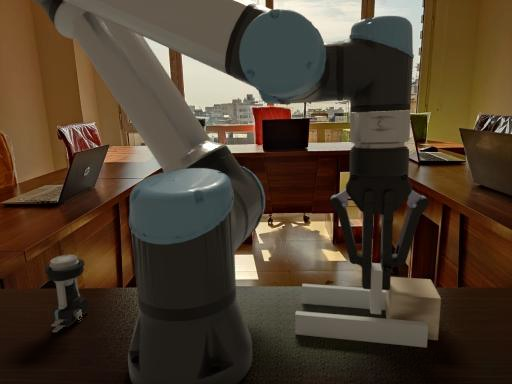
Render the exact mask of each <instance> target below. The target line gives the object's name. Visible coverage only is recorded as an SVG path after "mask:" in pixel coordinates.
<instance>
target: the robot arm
mask: <svg viewBox="0 0 512 384" xmlns="http://www.w3.org/2000/svg"><path fill="white" fill-rule="evenodd" d="M31 1H32V2H34V3H36V4H38V5H39V6H40V7H41V8H42V9H43V11H44V12H45V14H46V15H47V17H48V19H49V20H50V22H51V23H52V24H53V26H54V28H55V29H56V30H57V31H58V33H59V34H60V35H61V36H62V37H65V38H66V39H70V40H75V41H76V42H77V43H78V45H79V46H80V48H81V49H82V50H83V52H84V54H85V55H86V56H87V58H88V60H89V62H91V64H92V66H93V67H94V69H95V70H96V72H97V73H98V75H99V76H100V78H101V80H102V81H103V83H104V84H105V85H106V88H107V89H108V90H109V91H110V93H111V94H112V96H113V97H114V99H115V101H117V104H118V105H119V107H120V108H121V109H122V111H123V113H124V115H126V116H127V118H128V120H129V121H130V122H131V124H132V126H133V127H134V128H135V130H136V132H137V133H138V135H139V136H140V138H141V139H142V141H143V142H144V144H145V145H146V146H147V149H148V150H149V151H150V152H151V154H152V156H153V157H154V159H155V160H156V161H157V163H158V165H159V166H160V167H161V169H162V171H163V172H160V173H156V174H154V175H151V176H148V177H146V178H144V179H142V180H141V181H139V182H137V184H135V186H133V188H132V190H131V192H130V195H129V213H128V214H129V216H128V225H129V228H130V233H131V234H130V235H131V242H132V253H133V262H134V272H135V282H136V291H137V292H136V293H137V301H138V314H137V318H136V321H135V325H134V329H133V333H132V336H131V337H132V338H131V340H130V341H131V342H130V345H129V350H128V355H127V356H128V357H127V363H128V373H129V379H130V382H131V384H239V383H240V382H241V381H242V380H243V379H244V378H245V376H246V375H247V374H248V372H249V371H250V369H251V367H252V364H253V340H252V336H251V332H250V330H249V327H248V325H247V322H246V320H245V318H244V315H243V313H242V309H241V307H240V305H239V302H238V299H237V286H236V285H237V284H236V282H237V280H236V257H235V256H236V251H237V250H238V248H239V247H240V246H241V245H242V244H243V243H244V242H245V240H246V239H247V238H248V237H250V236H251V235H252V234H253V233H254V232H255V230H256V229H257V228H258V227H259V225H260V222H261V220H262V219H263V218H262V217H263V215H264V212H265V208H266V194H265V189H264V187H263V185H262V182H261V181H260V180H259V178H258V177H257V175H256V174H255V173H253V171H251V170H250V169H249V168H247V167H245V166H241V165H240V163H239V162H238V161H237V159H236V158H235V156H234V155H233V152H232V151H231V150H230V148H229V147H228V146H227V144H225V143H221V142H215V141H214V140H212V139H211V138H210V136H209V135H208V133H207V131H206V130H205V129H204V127H203V126H202V124H201V122H200V121H199V119H198V118H197V117H196V115H195V113H194V112H193V110H192V109H191V107H190V105H189V104H188V103H187V101H186V100H185V98H184V97H183V95H182V94H181V92H180V90H179V89H178V88H177V86H176V85H175V83H174V81H173V80H172V78H171V76H169V74H168V72H167V70H165V68H164V66H163V64H162V63H161V61H160V60H159V58H158V57H157V55H156V54H155V53H154V51H153V49H152V47H150V45H149V43H148V41H147V40H146V39H148V40H150V41H153V42H155V43H157V44H160V45H161V46H164V47H166V48H168V49H170V50H173V51H176V52H177V53H179V54H181V55H184V56H186V57H188V58H191V59H193V60H195V61H197V62H199V63H201V64H204V65H206V66H208V67H210V68H213V69H215V70H217V71H218V72H221V73H223V74H226V75H228V76H230V77H233V78H234V79H236V80H238V81H240V82H242V83H244V84H246V85H249V86H251V87H254V88H255V89H256V90H257V91H258V94H259V95H260V98H261V100H262V102H264V103H265V104H267V105H268V104H269V105H275V104H276V105H286V106H287V105H289V106H290V105H291V104H304V103H305V104H307V103H310V104H311V103H321V102H333V101H338V102H343V101H349V104H350V107H349V109H350V110H349V112H350V113H349V142H350V143H351V144H354V145H353V146H352V147H351V149H350V150H349V176H348V181H347V182H346V184H345V189H343V190H342V191H341V192H339V193H337V194H335V193H334V194H332V195H331V197H330V202H329V203H330V205H331V206H332V208H333V209H334V211H335V213H336V214H337V216H338V220H339V224H340V228H341V232H342V236H343V237H342V238H343V240H344V244H345V248H346V253H347V257H348V259H349V262H350V263H351V264H353V265H357V266H360V267H361V285H362V288H363V289H370V292H369V306H370V309H369V312H370V314H372V315H382V311H383V310H382V290H389V289H390V280H391V277H392V270H393V268H395V267H397V266H399V267H404V266H405V264H406V263H407V260H408V256H409V253H410V251H411V246H412V244H413V240H414V237H415V234H416V230H417V227H418V224H419V221H420V217H421V216H422V214H423V213H424V212H425V211H426V210H427V208H428V207H429V205H430V200H429V199H428V198H427V197H426V196H425V195H424V194H420V193H418V192H416V191H415V190H413V185H412V183H411V182H410V180H409V170H410V167H409V166H410V148H409V147H408V146H405V144H406V143H408V142H409V141H410V137H411V108H412V107H411V103H412V87H413V69H414V67H413V66H414V65H413V64H414V58H415V55H414V50H413V49H414V48H413V45H414V43H413V41H414V40H413V38H414V37H413V34H414V33H413V25H412V23H411V21H410V20H409V19H407V17H403V16H400V15H399V16H398V15H381V16H374V17H371V18H364V19H360V20H359V21H357V22H355V23H354V24H352V25H351V29H350V35H349V38H348V39H343V40H338V41H326V42H325V41H324V39H323V36H322V35H321V33H320V31H319V29H318V28H316V26H315V25H314V24H313V22H312V21H310V19H308V18H307V17H305V15H303V14H301V13H299V12H297V11H295V10H292V9H288V8H287V9H286V8H276V9H272V8H269V7H267V6H264V5H260V4H257V3H256V2H255V1H252V0H31ZM145 38H146V39H145ZM349 198H350V200H352V202H353V203H354V205H355V206H356V207H357V208H358V210H359V211H360V212H362V225H361V226H362V227H361V228H362V232H361V233H362V235H361V239H362V240H361V253H360V252H358V250H357V249H358V248H357V246H356V241H355V237H354V234H353V233H354V232H353V230H352V225H351V221H350V218H349V214H348V209H347V207H348V206H349ZM406 200H407V206H408V209H407V211H406V214H405V218H404V220H403V224H402V228H401V230H400V233H399V237H398V241H397V244H396V247H395V250H394V253H393V232H394V231H393V227H394V225H393V224H394V213H395V212H396V211H398V209H399V208H400V207H401V206H402V205H403V203H404V202H405V201H406ZM377 214H379V215H380V216H381V224H380V225H381V226H380V227H381V230H380V231H381V232H380V262H379V263H377V262H373V227H374V226H373V224H374V223H373V222H374V215H377Z"/></svg>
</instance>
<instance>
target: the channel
mask: <svg viewBox="0 0 512 384" xmlns="http://www.w3.org/2000/svg"><path fill="white" fill-rule="evenodd" d="M301 285H302V286H301V304H304V305H315V306H328V307H330V306H331V307H341V308H342V307H343V308H350V309H351V308H354V309H364V310H370V306H369V292H370V289H363V287H358V286H357V287H356V286H355V287H354V286H341V285H329V284H328V285H327V284H313V283H312V284H311V283H302V284H301ZM382 311H386V290H382ZM294 323H295V324H294V327H295V328H294V329H295V331H294V333H295V335H297V336H298V335H299V336H307V337H308V336H309V337H310V336H311V337H317V338H318V337H320V338H329V339H338V340H349V341H357V342H358V341H360V342H369V343H379V344H388V345H389V344H390V345H396V346H397V345H400V346H409V347H417V348H428V339H427V337H428V325H427V322H418V321H406V320H395V319H387V318H381V317H370V316H359V315H347V314H338V313H337V314H334V313H324V312H313V311H301V310H296V311H295V315H294Z"/></svg>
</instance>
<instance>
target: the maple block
mask: <svg viewBox="0 0 512 384" xmlns="http://www.w3.org/2000/svg"><path fill="white" fill-rule="evenodd" d="M441 300H442V298H441V296H440V294H439V292H438V290H437V289H436V287H435V285H434V282H433V281H432V280H431V279H429V278H415V277H414V278H413V277H400V276H398V277H397V276H391V280H390V289H389V290H386V310H385V312H384V313H385V319H395V320H406V321H418V322H427V325H428V337H427V340H430V341H431V340H432V341H438V340H439V328H440V319H441V317H440V315H441V305H442V304H441V303H442V302H441Z"/></svg>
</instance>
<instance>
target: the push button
mask: <svg viewBox="0 0 512 384" xmlns="http://www.w3.org/2000/svg"><path fill="white" fill-rule="evenodd" d="M84 267H85V260H83V259H80V258H78V257H77V255H75V254H63V255H59V256H56V257H54V258H52V259H50V263H49V264H48V265H46V266H45V267H44V273H45V274H46V278H47V280H48V281H53V282H54V284H55V287H56V294H57V306H58V309H56V310H55V312H54V317H55V320H54V322H53V323H52V324H51V325H50V326H51V327H55V328H54V329H53V330H51V331H52V333H57V332H58V331H60V330H61V329H64V328H63V327H65V326H68V325H69V324H70V323H71V322H73V321H74V320H75V319H76V318H77V319H78V320H80V319H81V318H80V319H79V316H81V317H83V316H82V313H83V314H84V313H85V312H86V311H88V312H89V309H88V300H87V298H81V294H80V292H79V290H80V289H79V284H78V278H79V277H80V276H81V275H82V274H83V273H84V272H85V271H84V270H85V268H84ZM80 321H81V320H80ZM57 325H58V326H57Z"/></svg>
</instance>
